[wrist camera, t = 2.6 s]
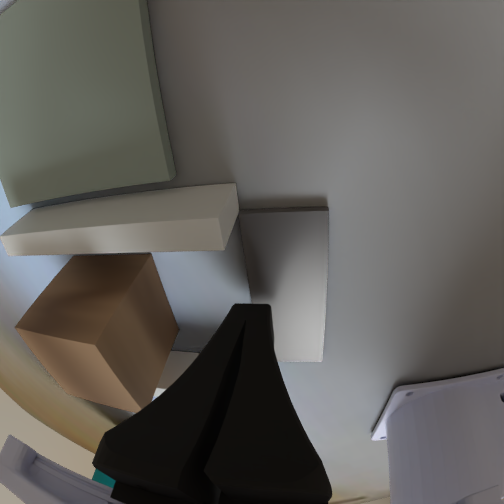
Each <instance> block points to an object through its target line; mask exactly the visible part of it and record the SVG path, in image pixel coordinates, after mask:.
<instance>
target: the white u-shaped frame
mask: <svg viewBox="0 0 504 504" xmlns="http://www.w3.org/2000/svg"><path fill="white" fill-rule="evenodd" d="M237 215H238V217H239V223H240V230H241V236H242V243H243V249H244V256H245V262H246V269H247V275H248V282H249V288H250V294H251V301H252V304H269V305H270V306H271V310H272V320H273V330H274V350H275V354H276V358H277V361H280V362H316V361H322V356H323V344H324V331H325V316H326V298H327V276H328V241H329V209H328V207H303V208H274V209H250V210H239V203H238V196H237V189H236V183H228V184H215V185H203V186H192V187H182V188H172V189H162V190H153V191H145V192H137V193H129V194H121V195H114V196H107V197H100V198H93V199H87V200H80V201H74V202H68V203H62V204H56V205H51V206H45V207H40V208H35V209H32V210H31V211H29V212H28V213H27V214H26V215H24V216H23V217H22V218H21V219H19V220H18V221H17V222H16V223H15V224H13V225H12V226H11V227H10V228H9V229H8V230H6V231H5V232H4V233H3V234H2V235H1V236H0V239H1V241H2V243H3V245H4V248H5V250H6V252H7V254H8V256H27V255H62V254H99V253H137V252H176V251H216V250H225V247H226V245H227V242H228V239H229V237H230V234H231V231H232V229H233V226H234V223H235V221H236V218H237ZM199 354H200V353H192V352H181V351H170V354H169V357H168V359H167V362H166V364H165V367H164V370H163V372H162V375H161V377H160V380H159V383H158V385H157V388H156V391H155V393H154V396H156V397H158V396H159V395H161V394H162V393H163V392H164V391H165V390H166V389H167V388H168V387H169V386H170V385H172V384H173V383H174V382H175V381H176V380H177V379H178V378H179V377H180V376H181V375H182V374H183V372H184V371H185V370H186V369H187V368H188V367H189V366H190V365H191V364H192V362H193V361H194V360H195V359H196V358H197V356H198V355H199Z"/></svg>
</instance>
